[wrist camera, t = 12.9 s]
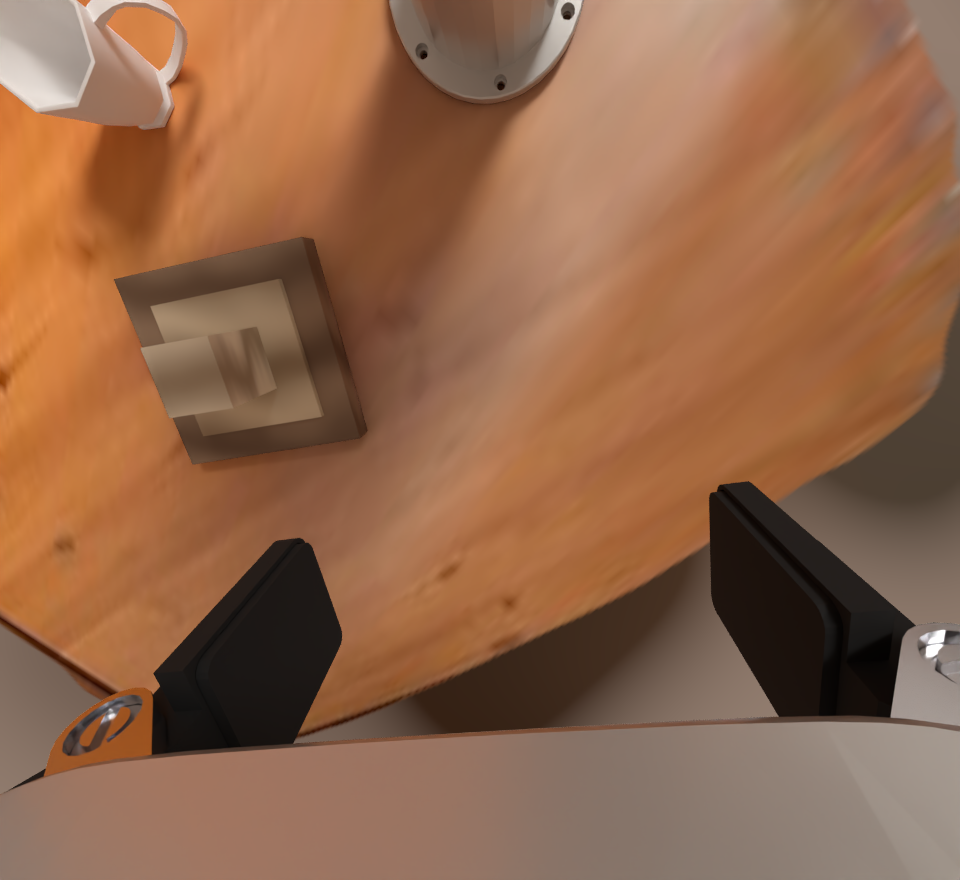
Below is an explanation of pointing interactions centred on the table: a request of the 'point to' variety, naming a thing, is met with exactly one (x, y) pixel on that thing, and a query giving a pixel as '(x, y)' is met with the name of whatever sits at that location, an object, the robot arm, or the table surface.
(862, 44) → the table surface
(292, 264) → the base
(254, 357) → the oak block
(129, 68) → the cup
